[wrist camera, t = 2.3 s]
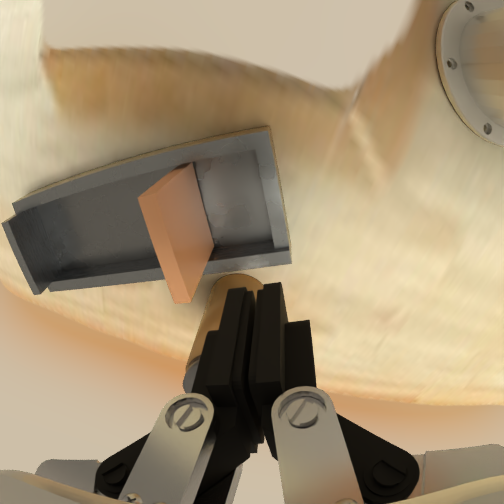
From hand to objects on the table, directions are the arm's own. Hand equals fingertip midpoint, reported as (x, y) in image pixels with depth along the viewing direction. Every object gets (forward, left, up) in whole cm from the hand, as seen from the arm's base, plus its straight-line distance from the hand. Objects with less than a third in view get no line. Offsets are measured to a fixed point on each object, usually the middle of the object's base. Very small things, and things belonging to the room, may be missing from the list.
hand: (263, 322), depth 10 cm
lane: (+10, 0, -14) cm, 18 cm away
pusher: (+5, 0, -13) cm, 14 cm away
